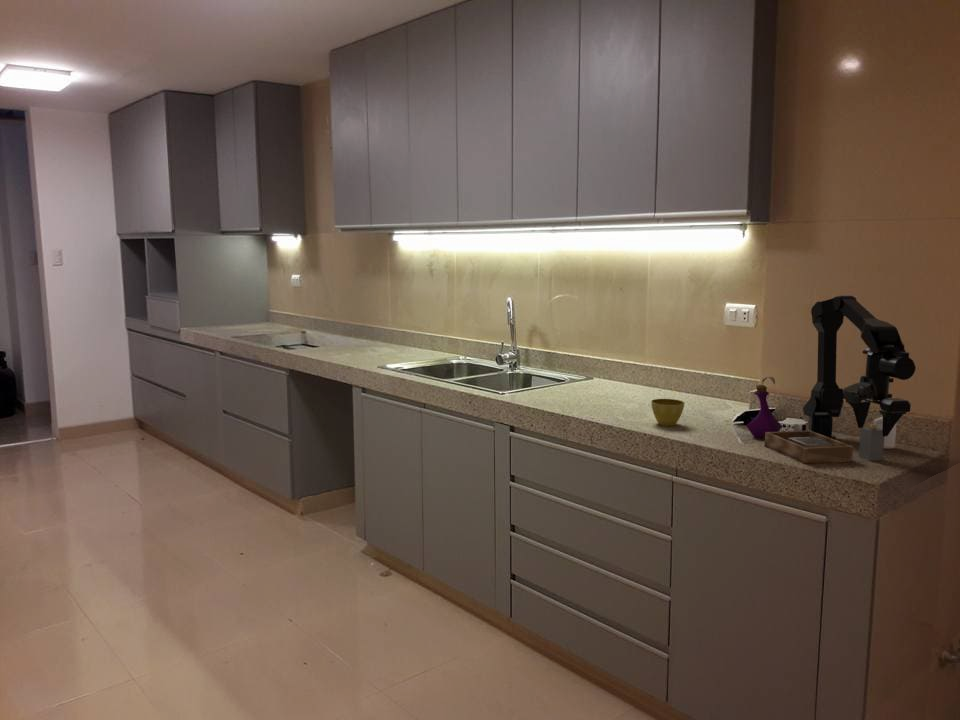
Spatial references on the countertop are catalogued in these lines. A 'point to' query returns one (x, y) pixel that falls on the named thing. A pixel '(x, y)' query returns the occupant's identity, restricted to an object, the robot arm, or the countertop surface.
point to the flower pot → (667, 411)
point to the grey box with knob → (871, 443)
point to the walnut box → (808, 455)
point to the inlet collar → (810, 442)
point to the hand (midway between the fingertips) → (872, 432)
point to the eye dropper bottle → (890, 439)
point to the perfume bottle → (763, 415)
